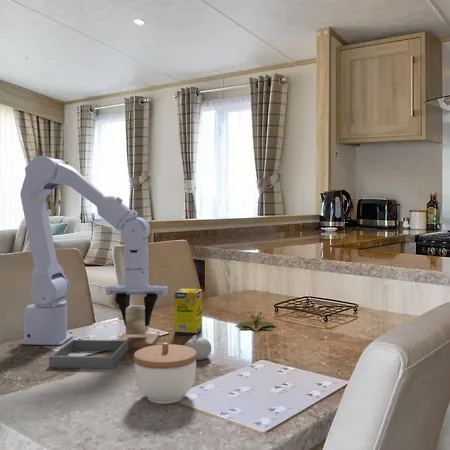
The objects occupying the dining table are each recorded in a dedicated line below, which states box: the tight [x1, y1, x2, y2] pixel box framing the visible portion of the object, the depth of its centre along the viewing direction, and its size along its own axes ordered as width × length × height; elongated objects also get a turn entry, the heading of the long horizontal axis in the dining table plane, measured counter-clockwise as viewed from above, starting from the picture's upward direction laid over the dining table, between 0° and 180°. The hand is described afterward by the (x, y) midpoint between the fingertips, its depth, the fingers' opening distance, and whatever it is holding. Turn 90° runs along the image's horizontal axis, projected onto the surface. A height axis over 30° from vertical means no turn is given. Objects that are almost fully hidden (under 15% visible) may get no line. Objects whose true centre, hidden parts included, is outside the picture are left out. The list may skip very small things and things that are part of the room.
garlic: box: [183, 334, 212, 361], centre depth 110 cm, size 6×5×5 cm
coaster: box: [116, 332, 160, 349], centre depth 123 cm, size 9×9×1 cm
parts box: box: [125, 304, 149, 335], centre depth 123 cm, size 4×4×6 cm
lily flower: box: [234, 310, 278, 332], centre depth 139 cm, size 12×12×5 cm
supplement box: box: [173, 288, 203, 337], centre depth 132 cm, size 6×6×11 cm
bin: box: [48, 339, 129, 369], centre depth 111 cm, size 13×13×2 cm
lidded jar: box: [133, 341, 197, 405], centre depth 88 cm, size 11×11×9 cm
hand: (137, 324), depth 123 cm, fingers closed on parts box, 4 cm apart
